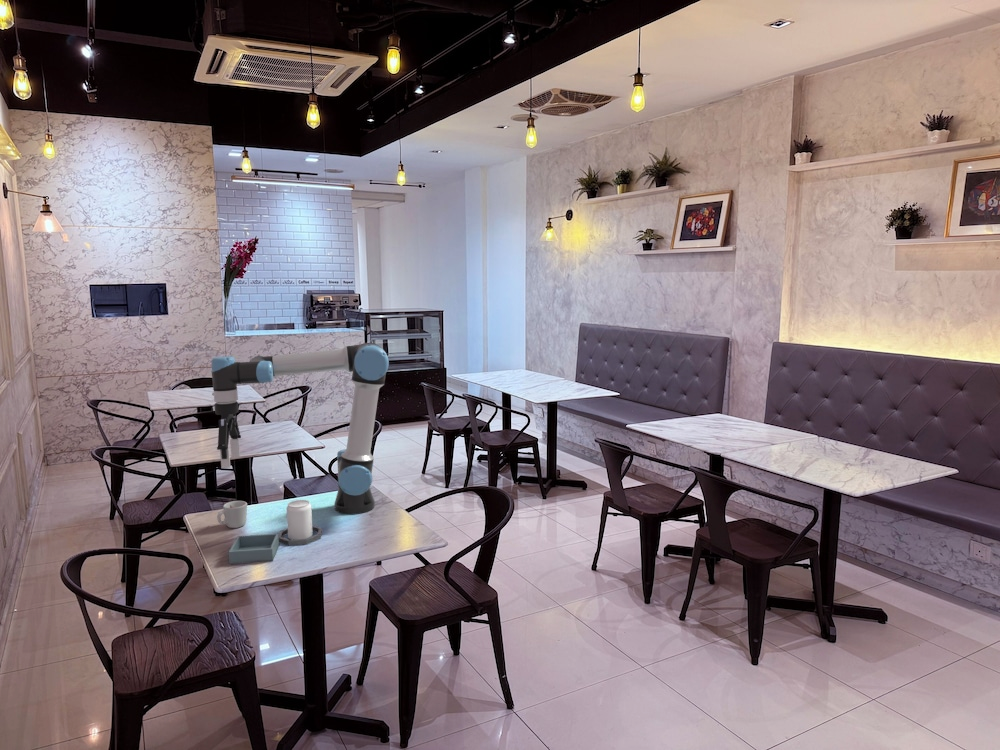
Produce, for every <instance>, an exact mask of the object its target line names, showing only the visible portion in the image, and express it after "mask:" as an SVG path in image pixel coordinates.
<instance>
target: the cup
mask: <svg viewBox="0 0 1000 750" xmlns="http://www.w3.org/2000/svg"><path fill="white" fill-rule="evenodd" d="M247 511H248V503H247V502H246V501H244V500H233V501H228V502H226V503H224V504H223V507H222V510H221V511H219V512H218V514H217V517H216V518H217V522H218V523H219V524H221V525H226V526H227V527H228V528H230V529H236V528H241V527H244V526H245V525H246V523H247V513H248V512H247ZM222 516H224V519H223V521H222V520H221V517H222Z"/></svg>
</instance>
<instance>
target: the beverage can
mask: <svg viewBox="0 0 1000 750" xmlns="http://www.w3.org/2000/svg"><path fill="white" fill-rule="evenodd" d="M286 522H287V523H286V524H287V528H288V534H287V539H288V538H289V540H297V539H307V538H309V537H312V536H313V532H314V531H312V525H313V512H312V504H311V502H310V501H309V500H307V499H296V500H293V501H290V502H288V503H287V507H286Z"/></svg>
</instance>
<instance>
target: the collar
mask: <svg viewBox="0 0 1000 750" xmlns="http://www.w3.org/2000/svg"><path fill="white" fill-rule="evenodd" d="M312 531H313V532H314V533H317V534H315V535H312V536H311V537H309V538H307V539H297V540H292V539H288V538H286V537H284V536H285V535H288V527H287V528H285V529H283V530H280V531H279V533H278V534H279V544H284V545H286V546H301V545H302V546H304V545H308V544H312V543H314V542H316V541H319V540H321V538H322V535H323V528H322V527H319V526H316V525H314V524H312Z"/></svg>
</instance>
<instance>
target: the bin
mask: <svg viewBox="0 0 1000 750" xmlns="http://www.w3.org/2000/svg"><path fill="white" fill-rule="evenodd" d="M279 547H280V542H279V533H267V534H253V535H252V534H251V535H250V534H249V535H248V534H247V535H238V536H237V537H236V538H235V540H234V542H233V544H232V545H231V547H230V549H229V550H228V560H229V561H228V563H229V565H235V564H250V563H251V564H253V563H265V562H273V561H274V559H275V557H276V555H277V552H278V550H279Z"/></svg>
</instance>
